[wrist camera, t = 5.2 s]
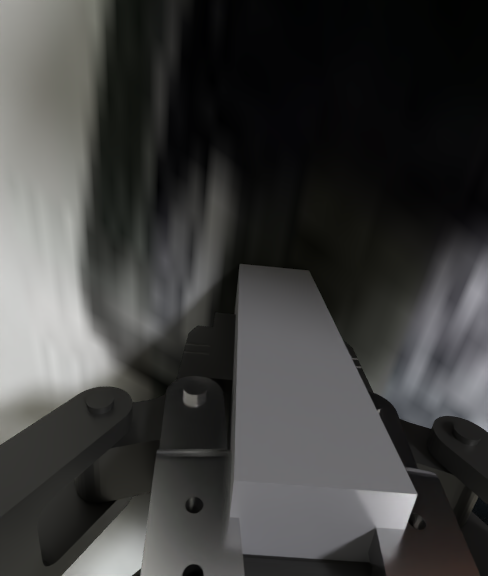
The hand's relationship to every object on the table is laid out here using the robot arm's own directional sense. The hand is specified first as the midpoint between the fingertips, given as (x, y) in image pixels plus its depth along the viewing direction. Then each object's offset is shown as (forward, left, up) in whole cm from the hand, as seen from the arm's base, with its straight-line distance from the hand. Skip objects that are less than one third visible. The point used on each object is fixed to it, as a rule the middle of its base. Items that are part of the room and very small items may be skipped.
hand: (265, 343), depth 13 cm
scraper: (0, +6, -1) cm, 6 cm away
